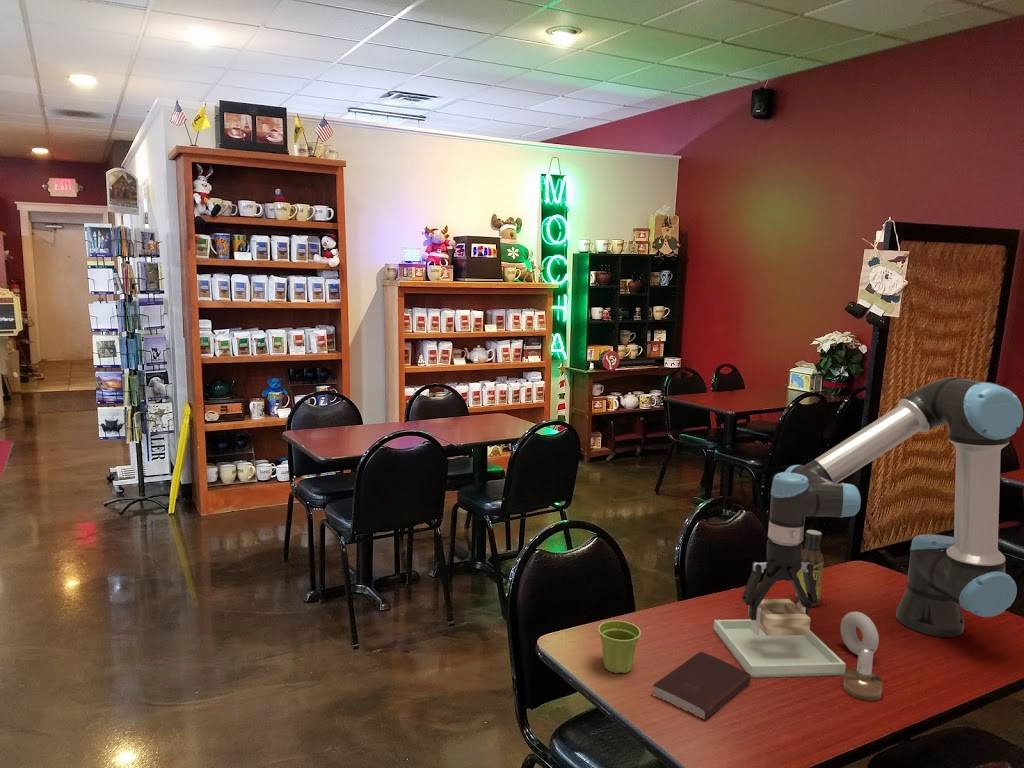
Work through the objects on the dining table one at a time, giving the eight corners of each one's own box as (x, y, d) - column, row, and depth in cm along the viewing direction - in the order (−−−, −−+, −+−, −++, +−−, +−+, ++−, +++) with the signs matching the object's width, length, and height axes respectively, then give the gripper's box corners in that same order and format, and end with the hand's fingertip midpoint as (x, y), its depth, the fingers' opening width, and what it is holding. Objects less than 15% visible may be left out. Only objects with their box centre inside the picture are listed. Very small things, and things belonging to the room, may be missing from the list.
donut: (880, 663, 162) (884, 622, 161) (868, 665, 161) (872, 624, 160) (846, 642, 172) (850, 603, 170) (835, 644, 171) (839, 605, 169)
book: (750, 686, 152) (752, 672, 152) (705, 724, 139) (706, 708, 138) (698, 663, 161) (699, 650, 161) (650, 697, 147) (651, 682, 147)
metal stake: (868, 681, 155) (872, 640, 154) (888, 700, 148) (893, 657, 146) (836, 682, 154) (840, 640, 153) (855, 701, 147) (860, 658, 146)
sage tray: (796, 628, 178) (797, 618, 178) (844, 675, 157) (845, 664, 157) (713, 629, 176) (714, 620, 176) (750, 677, 155) (751, 666, 155)
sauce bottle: (813, 610, 189) (820, 538, 186) (790, 602, 193) (796, 531, 190) (823, 602, 193) (830, 532, 191) (800, 595, 198) (806, 526, 195)
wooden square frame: (787, 614, 171) (789, 598, 170) (809, 634, 161) (810, 618, 161) (747, 615, 170) (749, 599, 170) (766, 635, 160) (768, 619, 160)
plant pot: (587, 667, 157) (589, 630, 156) (610, 651, 164) (612, 616, 163) (624, 683, 151) (626, 645, 150) (646, 666, 158) (648, 629, 157)
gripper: (744, 546, 158) (736, 640, 161) (840, 546, 160) (831, 639, 163) (730, 534, 165) (724, 625, 168) (823, 534, 168) (814, 623, 171)
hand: (777, 631), depth 166 cm, fingers closed on wooden square frame, 10 cm apart
